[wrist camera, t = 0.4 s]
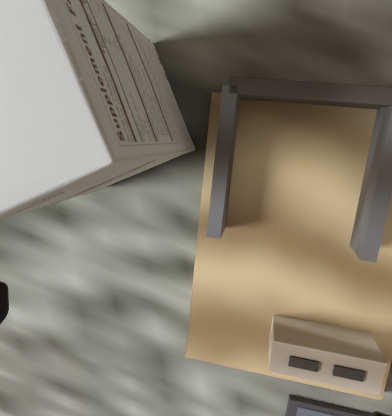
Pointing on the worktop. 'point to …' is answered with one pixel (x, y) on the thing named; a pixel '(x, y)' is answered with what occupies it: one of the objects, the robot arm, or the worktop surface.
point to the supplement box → (78, 102)
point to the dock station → (297, 234)
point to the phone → (318, 408)
